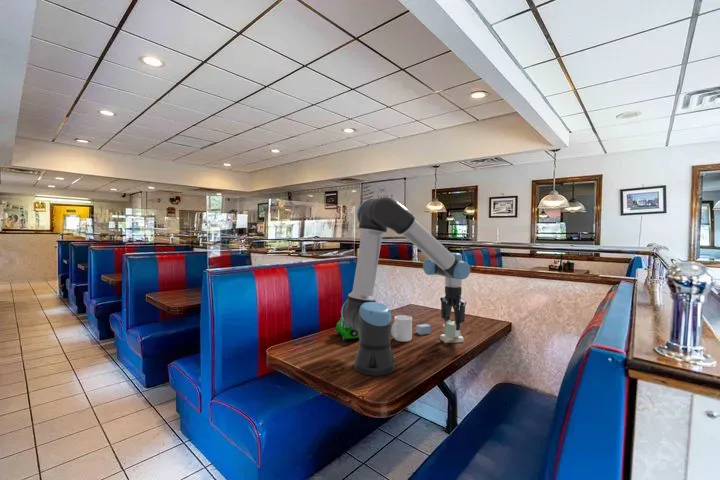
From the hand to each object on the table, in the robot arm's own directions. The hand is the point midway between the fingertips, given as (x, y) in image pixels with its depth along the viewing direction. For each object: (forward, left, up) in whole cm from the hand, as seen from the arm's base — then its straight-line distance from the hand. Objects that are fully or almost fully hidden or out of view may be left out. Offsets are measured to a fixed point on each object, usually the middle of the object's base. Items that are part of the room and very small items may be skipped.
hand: (452, 335), depth 162 cm
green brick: (0, 0, 0) cm, 0 cm away
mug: (-20, +14, -3) cm, 25 cm away
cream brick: (0, 0, -3) cm, 3 cm away
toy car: (-38, +30, -3) cm, 49 cm away
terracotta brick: (+8, +9, -2) cm, 12 cm away
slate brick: (-3, +15, -2) cm, 16 cm away
